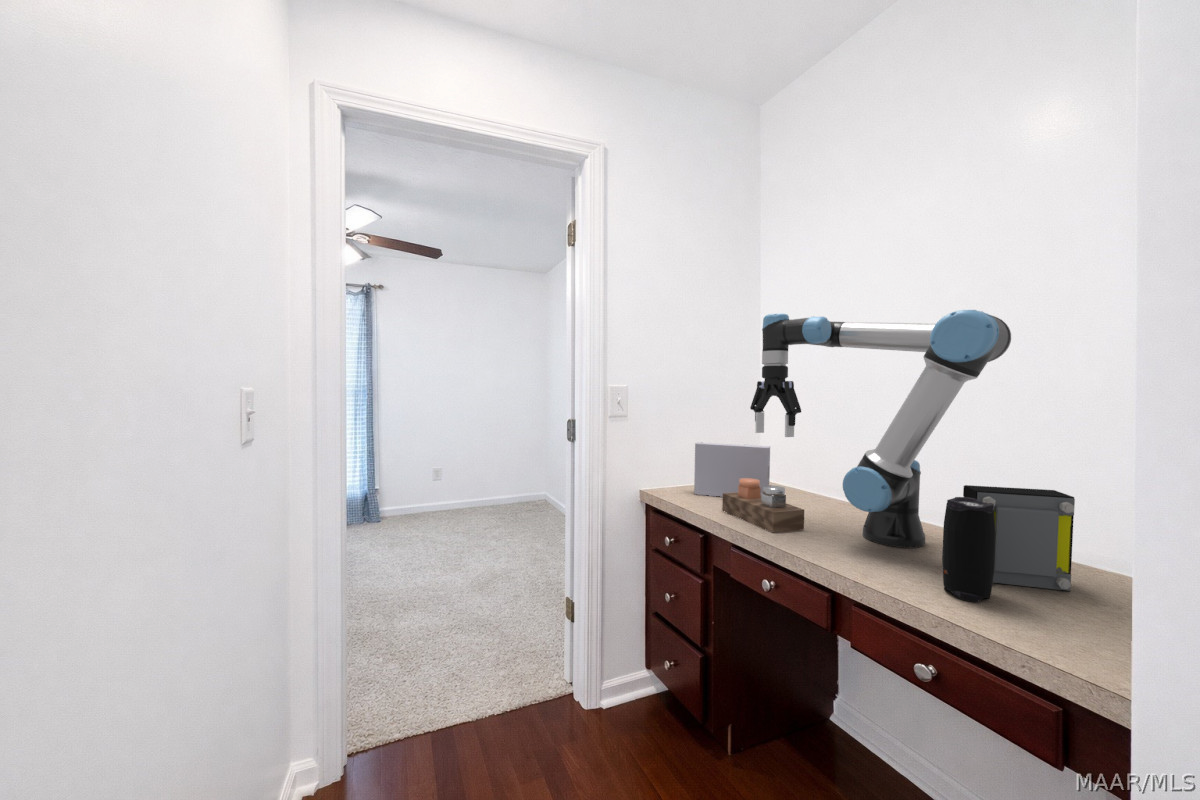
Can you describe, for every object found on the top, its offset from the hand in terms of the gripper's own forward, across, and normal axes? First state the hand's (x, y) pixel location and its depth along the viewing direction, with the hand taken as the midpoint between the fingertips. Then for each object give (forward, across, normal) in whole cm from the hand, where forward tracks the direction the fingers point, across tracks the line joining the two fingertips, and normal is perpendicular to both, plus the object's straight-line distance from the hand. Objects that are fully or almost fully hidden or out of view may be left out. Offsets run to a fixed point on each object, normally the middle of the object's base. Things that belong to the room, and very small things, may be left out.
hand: (773, 434), depth 151 cm
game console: (+28, +35, -9) cm, 46 cm away
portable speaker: (+28, -55, -4) cm, 62 cm away
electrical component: (+28, -53, -22) cm, 64 cm away
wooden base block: (+27, +5, +1) cm, 28 cm away
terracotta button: (+22, +11, +1) cm, 24 cm away
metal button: (+22, -1, +1) cm, 22 cm away
